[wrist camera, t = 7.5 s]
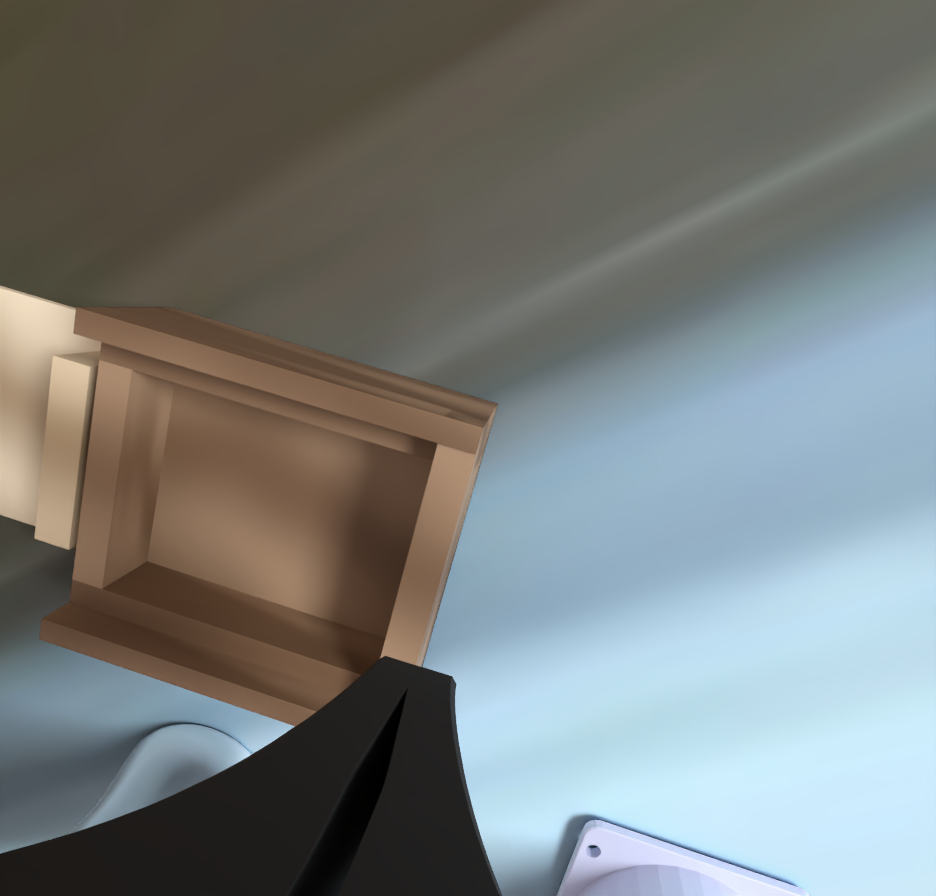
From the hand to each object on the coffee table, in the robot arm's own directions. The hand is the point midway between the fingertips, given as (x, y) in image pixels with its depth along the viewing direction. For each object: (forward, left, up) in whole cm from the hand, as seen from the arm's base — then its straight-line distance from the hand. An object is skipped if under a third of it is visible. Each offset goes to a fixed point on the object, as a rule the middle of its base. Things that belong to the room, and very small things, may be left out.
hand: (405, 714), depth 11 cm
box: (-1, +6, -10) cm, 12 cm away
